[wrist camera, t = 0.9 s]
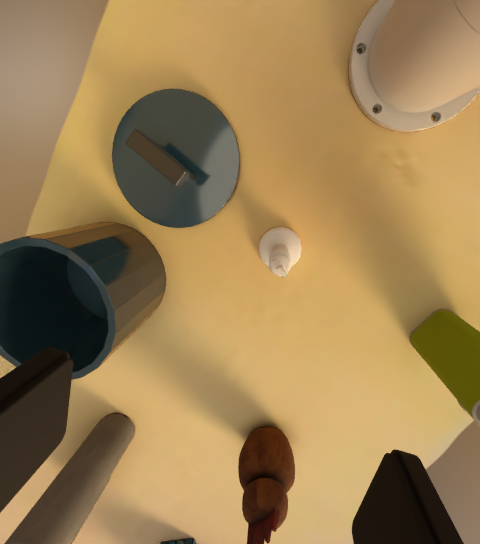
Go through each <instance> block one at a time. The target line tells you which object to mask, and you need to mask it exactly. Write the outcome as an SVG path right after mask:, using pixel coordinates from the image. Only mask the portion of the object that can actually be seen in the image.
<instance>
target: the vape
mask: <svg viewBox="0 0 480 544" xmlns="http://www.w3.org/2000/svg"><path fill="white" fill-rule="evenodd" d="M410 342H411V344H412V346H413V347H414V348H415V349H416V350H417V352H418V353H419V354H420V355H421V357H422V358H423V359H424V360H425V361H426V363H427V364H428V365H429V366H430V367H431V369H432V370H433V371H434V372H435V373H436V375H437V376H438V377H439V378H440V379H441V381H442V382H443V383H444V384H445V385H446V387H447V388H448V389H449V390H450V391H451V393H452V394H453V395H454V396H455V397H456V399H457V401H458V403H459V404H460V406H461V407H462V408H463V409H464V410H465V411H466V412H467V413H468V414H469V415H470V416H471V417H472V418H473V419H474V420H475V422H476V423H477V424H478V425H479V426H480V332H479V331H478V330H476V329H475V328H473V327H472V326H471V325H469V324H468V323H467V322H465V321H464V320H463V319H461V318H460V317H458V316H457V315H456V314H454V313H453V312H451V311H449V310H444V309H441V310H437V311H435V312H433V313H432V314H431V315H430V316H429V317H428V318H427V319H426V320H425V321H424V322H423V323H422V324H421V325H420V326H419V327H417V328H416V329H415V330H414V331H413V332H412V333H411V335H410Z"/></svg>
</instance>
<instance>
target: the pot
mask: <svg viewBox="0 0 480 544" xmlns="http://www.w3.org/2000/svg"><path fill="white" fill-rule="evenodd" d="M165 287H166V275H165V269H164V265H163V262H162V260H161V257H160V255H159V253H158V252H157V250H156V249H155V247H154V246H153V245H152V243H151V242H150V241H149V240H148V239H147V238H146V237H145V236H144V235H142V234H141V233H139V232H138V231H137V230H135V229H133V228H131V227H129V226H126V225H123V224H119V223H113V222H99V223H94V224H89V225H84V226H78V227H73V228H68V229H63V230H58V231H53V232H47V233H42V234H37V235H32V236H27V237H22V238H18V239H15V240H11V241H8V242H4V243H2V244H0V355H1V356H2V357H3V358H5V359H6V360H8V361H9V362H10V363H12V364H13V365H14V366H16V367H18V366H20V365H21V364H22V363H24V362H25V361H27V360H28V359H30V358H31V357H33V356H34V355H36V354H37V353H39V352H40V351H42V350H43V349H45V348H47V347H52V348H55V349H58V350H62V351H65V352H68V353H69V358H70V359H72V360H73V370H72V379H77V378H81V377H84V376H85V375H87V374H89V373H90V372H92V371H94V370H95V369H97V368H98V367H100V366H101V365H102V364H103V363H104V362H105V361H106V360H107V359H108V358H109V357H110V356H111V355H112V354H113V353H114V352H115V351H116V350H117V349H118V348H119V347H120V346H121V345H122V344H123V343H124V342H125V341H126V340H127V339H128V338H129V337H130V336H131V335H132V334H133V333H134V332H135V331H136V330H137V329H138V328H139V327H140V326H141V325H142V324H143V323H144V322H145V321H146V320H147V319H148V318H149V317H150V316H151V315H152V314H153V312H154V311H155V310H156V309H157V308H158V306H159V305H160V303H161V301H162V299H163V296H164V292H165ZM72 379H71V380H72Z"/></svg>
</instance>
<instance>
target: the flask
mask: <svg viewBox="0 0 480 544" xmlns="http://www.w3.org/2000/svg"><path fill="white" fill-rule="evenodd" d="M134 433H135V428H134V425H133V424H132V422H131V421H130V420H129V419H128V418H127V417H125V416H123V415H120V414H110V415H108V416H106V417H104V418H103V419H102V420H101V421H100V422H99V423H98V424H97V425H96V427H95V428H94V429H93V430H92V432H91V433H90V434H89V436H88V437H87V438H86V439H85V441H84V442H83V443H82V445H81V446H80V447H79V448H78V450H77V451H76V452H75V454H74V455H73V456H72V457H71V459H70V460H69V461H68V463H67V464H66V465H65V466H64V468H63V469H62V470H61V472H60V473H59V474H58V475H57V477H56V478H55V479H54V481H53V482H52V483H51V485H50V486H49V487H48V488H47V490H46V491H45V492H44V494H43V495H42V496H41V497H40V499H39V500H38V501H37V503H36V504H35V505H34V506H33V508H32V509H31V510H30V512H29V513H28V514H27V515H26V517H25V518H24V519H23V521H22V522H21V523H20V524H19V526H18V527H17V528H16V530H15V531H14V532H13V533H12V535H11V536H10V537H9V539H8V540H7V541H6V542H5V544H72V543H73V541H74V539H75V537H76V536H77V534H78V532H79V531H80V529H81V527H82V526H83V524H84V522H85V520H86V519H87V517H88V515H89V514H90V512H91V510H92V509H93V507H94V505H95V503H96V502H97V500H98V498H99V497H100V495H101V493H102V492H103V490H104V488H105V486H106V485H107V483H108V481H109V478H110V475H111V474H112V472H113V470H114V469H115V467H116V465H117V464H118V462H119V460H120V459H121V457H122V455H123V454H124V452H125V450H126V448H127V447H128V445H129V443H130V442H131V440H132V438H133V437H134Z"/></svg>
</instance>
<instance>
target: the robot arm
mask: <svg viewBox="0 0 480 544" xmlns="http://www.w3.org/2000/svg"><path fill="white" fill-rule="evenodd" d="M357 50H361V54H359V53H357ZM349 81H350V86H351V90H352V93H353V95H354V98H355V101H356V102H357V104H358V105H359V107H360V109H361V110H362V111H363V112H364V113H365V114H366V115H367V116H368V117H369V118H370V119H371V120H372V121H373V122H375V123H377V124H378V125H380V126H382V127H384V128H387V129H390V130H393V131H400V132H416V131H421V130H425V129H429V128H432V127H435V126H437V125H440V124H442V123H444V122H445V121H447V120H449V119H451V118H453V117H454V116H456V115H457V114H458V113H459V112H461V111H462V110H463V109H465V108H466V107H467V106H468V105H469V104H470V102H471V101H472V100H473V99H474V98H475V97H476V96H477V94H478V93H479V92H480V0H378V1H377V2H376V3H375V4H374V6H373V7H372V8H371V9H370V10H369V12H368V14H367V15H366V17H365V18H364V20H363V21H362V23H361V25H360V27H359V29H358V31H357V33H356V36H355V39H354V41H353V44H352V47H351V52H350V58H349ZM373 108H376V109H377V112H376V113H374V112H373ZM431 116H433V117H434V120H433V121H432V120H431ZM72 370H73V360H72V359H70V358H69V353H68V352H65V351H62V350H58V349H55V348H52V347H47V348H45V349H43V350H42V351H40V352H39V353H37V354H36V355H34V356H33V357H31V358H30V359H28V360H27V361H25V362H24V363H22V364H21V365H20V366H18V367H17V368H15V369H14V370H12V371H11V372H9V373H8V374H6V375H5V376H3V377H2V378H0V512H1V511H2V510H3V509H4V508H5V507H6V505H7V504H8V503H9V502H10V501H11V500H12V499H13V497H14V496H15V495H16V494H17V493H18V492H19V490H20V489H21V488H22V487H23V486H24V485H25V483H26V482H27V481H28V480H29V479H30V478H31V476H32V475H33V474H34V473H35V472H36V471H37V470H38V468H39V467H40V466H41V465H42V464H43V463H44V461H45V460H46V459H47V458H48V457H49V456H50V454H51V453H52V452H53V451H54V450H55V449H56V447H57V446H58V445H59V444H60V443H61V441H62V439H63V437H64V435H65V432H66V425H67V416H68V407H69V398H70V389H71V379H72ZM352 535H353V541H354V544H464V543H463V542H462V540H461V538H460V536H459V534H458V532H457V530H456V528H455V526H454V524H453V522H452V520H451V518H450V516H449V515H448V513H447V511H446V509H445V507H444V505H443V503H442V501H441V499H440V497H439V495H438V494H437V491H436V489H435V488H434V486H433V484H432V482H431V480H430V478H429V476H428V474H427V472H426V470H425V468H424V466H423V464H422V462H421V460H420V459H419V458H418V457H417V456H416V455H413V454H410V453H406V452H403V451H399V450H393V451H392V452H391V453H386V454H385V455H384V457H383V459H382V461H381V463H380V465H379V467H378V470H377V472H376V474H375V476H374V478H373V480H372V482H371V484H370V486H369V488H368V490H367V493H366V495H365V497H364V499H363V501H362V503H361V505H360V507H359V509H358V511H357V513H356V516H355V518H354V520H353V524H352Z"/></svg>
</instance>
